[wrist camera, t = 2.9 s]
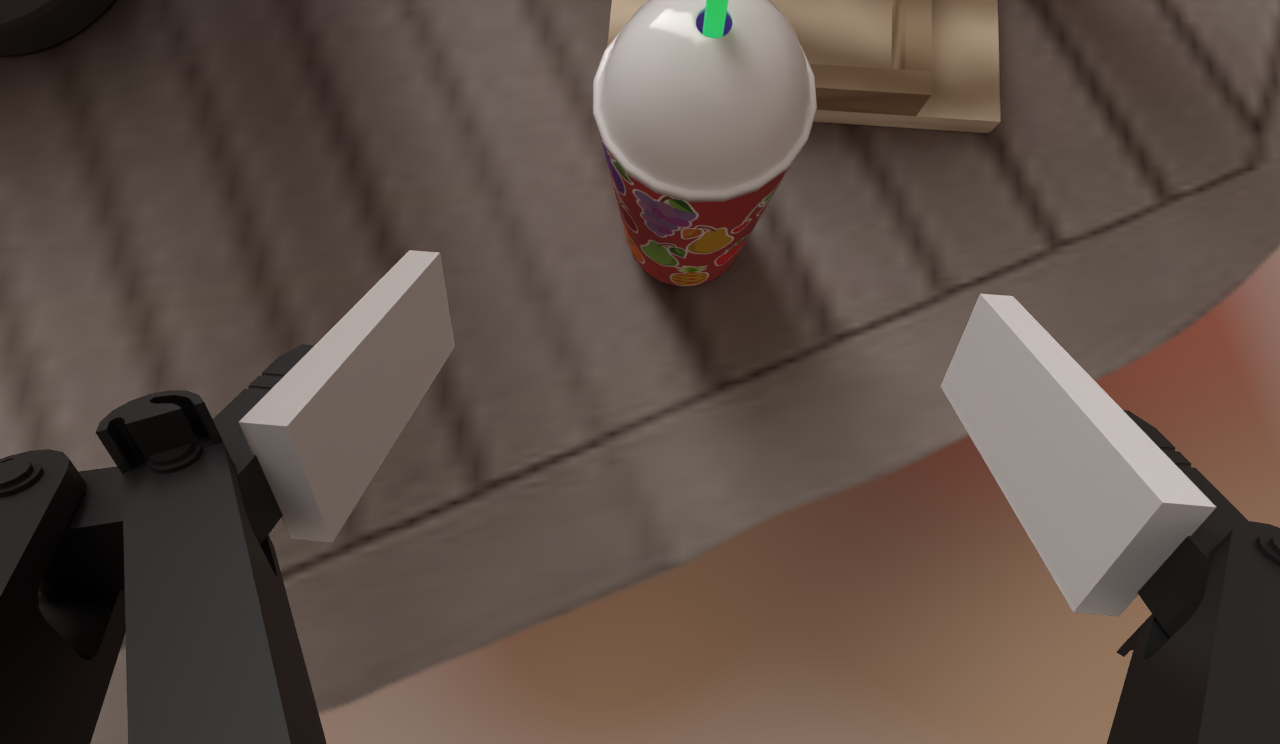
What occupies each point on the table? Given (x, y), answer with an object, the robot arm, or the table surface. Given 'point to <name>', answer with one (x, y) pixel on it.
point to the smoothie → (700, 128)
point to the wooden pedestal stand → (893, 60)
